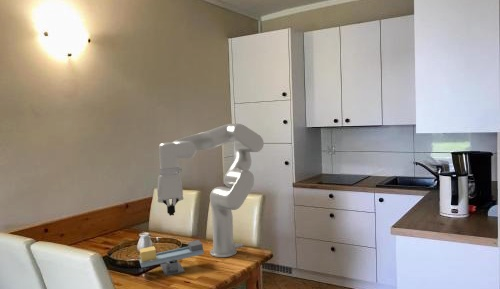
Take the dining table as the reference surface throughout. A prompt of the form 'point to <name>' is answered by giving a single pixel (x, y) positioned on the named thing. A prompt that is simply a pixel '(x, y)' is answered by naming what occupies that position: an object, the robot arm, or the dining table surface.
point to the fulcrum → (172, 268)
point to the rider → (148, 254)
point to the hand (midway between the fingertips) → (171, 214)
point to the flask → (146, 242)
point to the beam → (176, 254)
